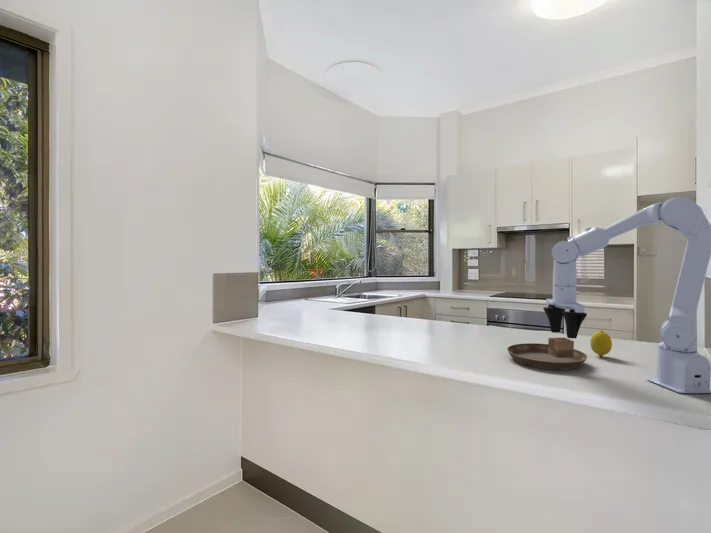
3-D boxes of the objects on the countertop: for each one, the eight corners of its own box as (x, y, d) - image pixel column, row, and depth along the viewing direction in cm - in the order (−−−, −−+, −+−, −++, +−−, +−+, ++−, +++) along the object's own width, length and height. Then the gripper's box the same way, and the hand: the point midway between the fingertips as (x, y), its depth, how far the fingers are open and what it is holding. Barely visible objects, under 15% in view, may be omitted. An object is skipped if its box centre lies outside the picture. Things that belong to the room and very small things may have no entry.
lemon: (614, 359, 114) (615, 332, 114) (594, 358, 115) (594, 331, 115) (606, 354, 120) (607, 329, 119) (586, 353, 121) (587, 328, 120)
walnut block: (573, 357, 105) (573, 341, 104) (557, 357, 104) (557, 341, 104) (563, 353, 109) (564, 337, 109) (548, 353, 109) (548, 337, 109)
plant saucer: (541, 376, 99) (541, 363, 99) (492, 355, 119) (492, 344, 118) (605, 370, 104) (605, 358, 104) (548, 351, 124) (548, 341, 124)
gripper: (536, 283, 113) (535, 330, 113) (566, 288, 98) (564, 341, 99) (560, 283, 113) (559, 329, 114) (592, 288, 99) (591, 340, 99)
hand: (563, 335), depth 106 cm, fingers open, 7 cm apart
